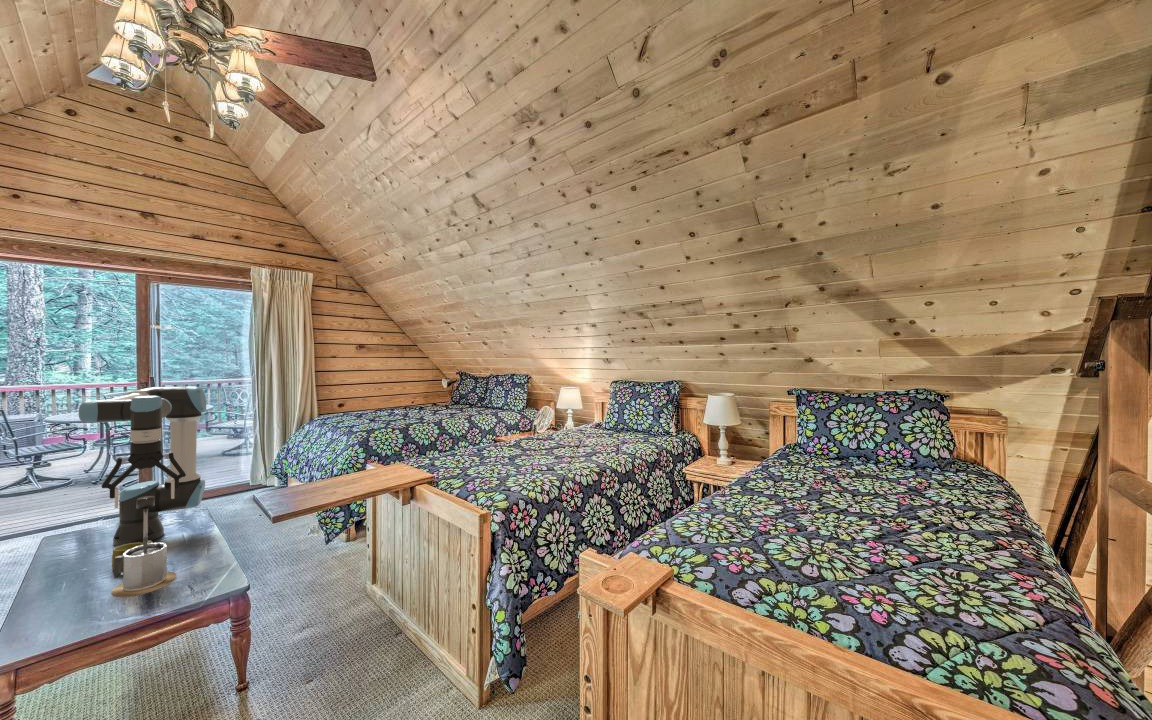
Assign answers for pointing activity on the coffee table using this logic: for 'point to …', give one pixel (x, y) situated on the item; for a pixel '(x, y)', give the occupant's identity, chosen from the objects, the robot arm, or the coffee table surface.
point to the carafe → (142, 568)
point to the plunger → (145, 524)
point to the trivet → (120, 593)
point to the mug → (121, 549)
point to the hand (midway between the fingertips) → (145, 502)
